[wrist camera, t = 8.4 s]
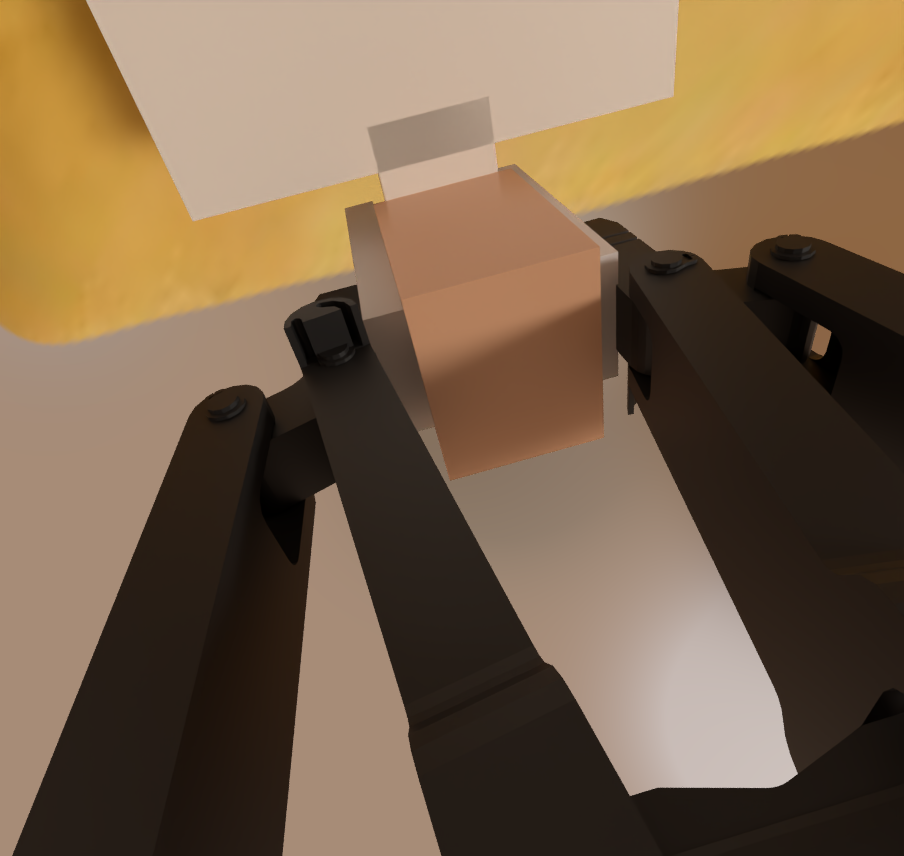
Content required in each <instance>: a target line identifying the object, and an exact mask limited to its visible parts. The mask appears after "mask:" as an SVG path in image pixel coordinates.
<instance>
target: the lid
mask: <svg viewBox="0 0 904 856" xmlns="http://www.w3.org/2000/svg"><path fill="white" fill-rule="evenodd" d="M86 1H87V4H88V6H89V8H90V10H91V12H92V14H93V16H94V18H95V20H96V22H97V24H98V26H99V28H100V30H101V32H102V35H103V37H104V39H105V41H106V43H107V45H108V47H109V49H110V51H111V53H112V55H113V57H114V59H115V61H116V63H117V66H118V68H119V70H120V72H121V74H122V76H123V78H124V80H125V82H126V84H127V86H128V88H129V90H130V92H131V94H132V97H133V99H134V101H135V103H136V105H137V107H138V109H139V111H140V113H141V115H142V117H143V119H144V121H145V123H146V125H147V128H148V130H149V132H150V134H151V136H152V138H153V140H154V142H155V144H156V146H157V148H158V150H159V152H160V154H161V156H162V159H163V161H164V163H165V165H166V167H167V169H168V171H169V173H170V175H171V177H172V179H173V181H174V183H175V185H176V187H177V189H178V192H179V194H180V196H181V198H182V200H183V202H184V204H185V206H186V208H187V210H188V212H189V214H190V216H191V218H192V220H193V221H196V220H200V219H204V218H207V217H211V216H215V215H219V214H223V213H227V212H231V211H234V210H238V209H242V208H246V207H250V206H254V205H257V204H261V203H265V202H269V201H273V200H277V199H281V198H284V197H288V196H292V195H296V194H300V193H304V192H308V191H311V190H315V189H319V188H323V187H327V186H331V185H335V184H338V183H342V182H346V181H350V180H354V179H358V178H361V177H365V176H369V175H373V174H377V173H378V176H379V180H380V183H381V187H382V191H383V195H384V199H385V201H384V202H380V203H376V204H373V206H374V210H375V213H376V217H377V221H378V224H379V228H380V232H381V235H382V239H383V242H384V245H385V249H386V252H387V256H388V259H389V263H390V266H391V269H392V273H393V276H394V280H395V283H396V287H397V290H398V293H399V297H400V300H401V304H402V307H403V311H404V314H405V318H406V322H407V325H408V329H409V333H410V336H411V340H412V344H413V347H414V351H415V355H416V358H417V362H418V366H419V369H420V373H421V377H422V381H423V384H424V388H425V392H426V395H427V399H428V403H429V406H430V410H431V414H432V417H433V421H434V425H435V429H436V433H437V436H438V440H439V443H440V447H441V450H442V454H443V457H444V461H445V464H446V468H447V471H448V475H449V478H450V480H454V479H458V478H461V477H465V476H469V475H472V474H476V473H479V472H482V471H486V470H490V469H493V468H497V467H501V466H504V465H508V464H511V463H515V462H518V461H522V460H525V459H529V458H532V457H536V456H539V455H543V454H547V453H550V452H554V451H558V450H561V449H564V448H568V447H572V446H575V445H579V444H582V443H585V442H589V441H593V440H597V439H600V438H603V437H604V425H603V424H604V423H603V372H602V324H601V275H600V246H599V245H597V244H596V243H595V242H594V241H593V240H592V239H591V238H589V237H588V236H587V235H586V234H585V233H584V232H583V231H582V230H580V229H579V228H578V227H577V226H576V225H575V224H574V223H572V222H571V221H570V220H569V219H568V218H567V217H566V216H565V215H563V214H562V213H561V212H560V211H559V210H558V209H557V208H555V207H554V206H553V205H552V204H551V203H550V202H549V201H548V200H546V199H545V198H544V197H543V196H542V195H541V194H540V193H538V192H537V191H536V190H535V189H534V188H533V187H532V186H531V185H529V184H528V183H527V182H526V181H525V180H524V179H523V178H521V177H520V176H519V175H518V174H517V173H516V172H515V171H514V170H512V169H511V168H510V169H506V170H503V171H499V172H498V166H497V158H496V151H495V143H496V142H500V141H504V140H508V139H512V138H516V137H519V136H523V135H527V134H531V133H535V132H539V131H542V130H546V129H550V128H554V127H558V126H562V125H566V124H569V123H573V122H577V121H581V120H585V119H589V118H593V117H596V116H600V115H604V114H608V113H612V112H616V111H620V110H623V109H627V108H631V107H635V106H639V105H643V104H646V103H650V102H654V101H658V100H662V99H666V98H670V97H673V95H674V77H675V59H676V41H677V23H678V5H679V0H86Z"/></svg>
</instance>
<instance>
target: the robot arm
mask: <svg viewBox="0 0 904 856" xmlns="http://www.w3.org/2000/svg"><path fill="white" fill-rule="evenodd" d="M510 168H511V169H512V170H514V171H515V172H516V173H517V174H518V175H519V176H520V177H521V178H523V179H524V180H525V181H526V182H527V183H528V184H529V185H531V186H532V187H533V188H534V189H535V190H536V191H537V192H538V193H540V194H541V195H542V196H543V197H544V198H545V199H546V200H548V201H549V202H550V203H551V204H552V205H553V206H554V207H555V208H557V209H558V210H559V211H560V212H561V213H562V214H563V215H565V216H566V217H567V218H568V219H569V220H570V221H571V222H572V223H574V224H575V225H576V226H577V227H578V228H579V229H580V230H582V231H583V232H584V233H585V234H586V235H587V236H588V237H589V238H591V239H592V240H593V241H594V242H595V243H596V244H597V245H599V246H600V275H601V324H602V372H603V380H605V379H608V378H611V377H616V376H618V352H619V353H620V354H621V355H622V356H623V358H624V359H625V360H626V361H627V362H628V394H627V409H628V415H629V414H634V405H635V404H636V402H637V404H638V406H639V408H640V410H641V412H642V414H643V416H644V418H645V420H646V422H647V425H648V427H649V429H650V431H651V433H652V435H653V437H654V439H655V441H656V443H657V445H658V447H659V450H660V451H661V454H662V456H663V458H664V460H665V462H666V464H667V466H668V468H669V470H670V472H671V474H672V476H673V479H674V480H675V483H676V485H677V487H678V489H679V491H680V493H681V495H682V497H683V499H684V501H685V503H686V505H687V508H688V510H689V512H690V514H691V516H692V517H693V520H694V522H695V524H696V526H697V528H698V530H699V532H700V534H701V536H702V539H703V541H704V543H705V545H706V547H707V549H708V551H709V553H710V555H711V557H712V559H713V561H714V563H715V565H716V568H717V570H718V572H719V574H720V576H721V578H722V580H723V582H724V584H725V586H726V588H727V590H728V592H729V595H730V597H731V598H732V600H733V603H734V605H735V607H736V609H737V611H738V613H739V615H740V617H741V619H742V622H743V623H744V625H745V628H746V630H747V632H748V634H749V636H750V638H751V640H752V642H753V644H754V646H755V648H756V651H757V653H758V655H759V657H760V659H761V661H762V663H763V665H764V667H765V669H766V671H767V673H768V675H769V677H770V679H771V682H772V684H773V686H774V688H775V691H776V693H777V695H778V698H779V702H780V705H781V708H782V715H783V723H784V730H785V737H786V741H787V744H788V748H789V751H790V755H791V757H792V760H793V762H794V765H795V767H796V770H797V772H798V774H797V775H796V776H795V777H793V778H792V779H791V780H789V781H788V782H786V783H785V784H783V785H780V786H778V787H773V788H655V789H652V790H649V791H645V792H642V793H639V794H636V795H632V796H629V794H628V792H627V790H626V788H625V787H624V785H623V783H622V781H621V779H620V778H619V776H618V774H617V772H616V771H615V769H614V767H613V765H612V763H611V762H610V760H609V758H608V756H607V755H606V753H605V751H604V749H603V747H602V746H601V744H600V742H599V740H598V738H597V737H596V735H595V733H594V731H593V730H592V728H591V726H590V724H589V723H588V721H587V719H586V717H585V715H584V714H583V712H582V710H581V708H580V706H579V705H578V703H577V701H576V699H575V698H574V696H573V694H572V693H571V691H570V689H569V688H568V686H567V685H566V683H565V681H564V680H563V678H562V677H561V675H560V674H559V673H558V672H557V671H556V669H555V668H554V667H553V666H552V665H550V664H547V663H545V662H544V661H543V659H542V658H541V657H540V656H539V654H538V652H537V650H536V649H535V647H534V645H533V644H532V642H531V640H530V638H529V636H528V634H527V632H526V631H525V629H524V627H523V625H522V624H521V621H520V620H519V618H518V616H517V614H516V612H515V610H514V609H513V607H512V605H511V603H510V601H509V599H508V597H507V596H506V594H505V592H504V590H503V588H502V587H501V585H500V583H499V581H498V579H497V577H496V575H495V574H494V572H493V570H492V568H491V566H490V564H489V562H488V561H487V559H486V557H485V555H484V553H483V551H482V550H481V548H480V546H479V544H478V542H477V540H476V538H475V537H474V535H473V533H472V531H471V529H470V527H469V526H468V524H467V522H466V520H465V518H464V516H463V514H462V513H461V511H460V509H459V507H458V505H457V504H456V502H455V500H454V498H453V496H452V494H451V492H450V491H449V489H448V487H447V485H446V483H445V481H444V479H443V478H442V476H441V474H440V472H439V470H438V469H437V466H436V465H435V463H434V461H433V459H432V457H431V456H430V454H429V452H428V450H427V448H426V446H425V444H424V443H423V441H422V439H421V437H420V435H419V434H418V431H421V430H424V429H428V428H432V427H435V425H434V421H433V417H432V414H431V410H430V406H429V403H428V399H427V395H426V392H425V388H424V384H423V381H422V377H421V373H420V369H419V366H418V362H417V358H416V355H415V351H414V347H413V344H412V340H411V336H410V333H409V329H408V325H407V322H406V318H405V314H404V311H403V307H402V304H401V300H400V297H399V293H398V290H397V287H396V283H395V280H394V276H393V273H392V269H391V266H390V263H389V259H388V256H387V252H386V249H385V245H384V242H383V239H382V235H381V232H380V228H379V224H378V221H377V217H376V213H375V210H374V206H373V201H371V202H367V203H364V204H360V205H356V206H352V207H348V208H345V213H346V219H347V225H348V231H349V238H350V244H351V250H352V257H353V263H354V269H355V275H356V282H357V285H353V286H350V287H346V288H342V289H338V290H334V291H331V292H327V293H323V294H320V295H319V296H318V298H317V299H316V300H315V302H312V303H310V304H308V305H306V306H303V307H301V308H300V309H298V310H297V311H295V312H294V313H292V314H291V315H290V316H289V317H288V319H287V320H286V321H285V324H284V330H285V333H286V335H287V337H288V339H289V342H290V344H291V347H292V349H293V351H294V353H295V356H296V358H297V360H298V363H299V365H300V367H301V370H302V373H303V377H302V378H301V379H300V380H299V381H297V382H296V383H295V384H293V385H292V386H290V387H288V388H287V389H285V390H283V391H281V392H279V393H277V394H274V395H272V396H270V397H268V398H265V396H264V394H263V392H262V391H261V390H260V389H259V388H258V387H256V386H251V385H240V386H232V387H229V388H227V389H221V390H218V391H216V392H215V393H214V394H213V393H212V394H211V395H209V396H207V397H206V398H205V399H204V400H203V401H202V402H201V403H200V404H198V405H197V406H196V407H195V408H194V410H193V411H192V413H191V414H190V416H189V418H188V420H187V423H186V425H185V427H184V430H183V432H182V435H181V437H180V440H179V442H178V445H177V447H176V450H175V452H174V455H173V457H172V460H171V462H170V465H169V467H168V470H167V472H166V475H165V477H164V480H163V482H162V485H161V487H160V490H159V492H158V495H157V497H156V500H155V502H154V505H153V507H152V510H151V512H150V515H149V517H148V519H147V522H146V524H145V527H144V530H143V532H142V534H141V537H140V540H139V542H138V544H137V547H136V549H135V552H134V554H133V557H132V559H131V562H130V564H129V567H128V569H127V572H126V574H125V577H124V579H123V582H122V584H121V587H120V589H119V592H118V594H117V597H116V599H115V602H114V604H113V607H112V609H111V611H110V614H109V616H108V619H107V622H106V624H105V626H104V629H103V631H102V634H101V636H100V639H99V641H98V644H97V646H96V649H95V651H94V654H93V656H92V659H91V661H90V664H89V666H88V669H87V671H86V674H85V676H84V679H83V681H82V684H81V686H80V689H79V691H78V694H77V696H76V698H75V701H74V704H73V706H72V709H71V711H70V714H69V716H68V719H67V721H66V723H65V726H64V728H63V731H62V733H61V736H60V738H59V741H58V743H57V746H56V748H55V751H54V753H53V756H52V758H51V761H50V764H49V766H48V768H47V771H46V774H45V776H44V778H43V781H42V783H41V786H40V788H39V791H38V793H37V795H36V798H35V800H34V803H33V806H32V808H31V810H30V813H29V815H28V818H27V820H26V823H25V825H24V828H23V830H22V833H21V835H20V838H19V840H18V843H17V845H16V848H15V850H14V853H13V855H12V856H282V852H283V842H284V832H285V821H286V810H287V800H288V790H289V778H290V769H291V757H292V747H293V736H294V726H295V716H296V705H297V694H298V684H299V674H300V663H301V652H302V642H303V631H304V620H305V610H306V599H307V588H308V578H309V567H310V556H311V546H312V535H313V526H314V515H315V504H316V502H315V496H314V494H315V493H317V492H319V491H321V490H323V489H325V488H326V487H328V486H330V485H332V484H334V483H336V484H337V487H338V491H339V494H340V497H341V501H342V504H343V507H344V511H345V514H346V517H347V521H348V524H349V527H350V530H351V533H352V537H353V540H354V543H355V547H356V550H357V553H358V556H359V560H360V563H361V566H362V569H363V573H364V576H365V579H366V583H367V586H368V589H369V592H370V596H371V599H372V602H373V606H374V609H375V612H376V615H377V618H378V622H379V625H380V628H381V632H382V635H383V638H384V641H385V645H386V648H387V651H388V654H389V658H390V661H391V664H392V668H393V671H394V674H395V677H396V681H397V684H398V687H399V690H400V694H401V697H402V700H403V704H404V707H405V710H406V714H407V718H408V722H409V733H408V737H409V742H410V748H411V752H412V756H413V760H414V763H415V767H416V771H417V774H418V778H419V782H420V785H421V788H422V792H423V795H424V798H425V802H426V805H427V809H428V812H429V815H430V819H431V822H432V825H433V829H434V832H435V836H436V839H437V842H438V846H439V849H440V852H441V856H904V274H903V273H901V272H898V271H896V270H893V269H891V268H889V267H886V266H884V265H882V264H879V263H876V262H874V261H872V260H869V259H867V258H865V257H862V256H860V255H857V254H855V253H852V252H850V251H848V250H845V249H843V248H841V247H838V246H835V245H833V244H831V243H828V242H826V241H823V240H820V239H816V238H812V237H804V236H801V235H797V234H796V235H789V236H787V235H781V236H778V237H776V238H771V239H766V240H764V241H761V242H759V243H757V244H756V245H754V247H753V248H752V249H751V250H750V256H749V263H748V267H743V268H733V269H724V270H712V269H711V267H710V266H709V265H708V264H707V263H706V262H705V261H704V260H703V259H702V258H700V257H699V256H697V255H695V254H693V253H691V252H685V251H675V250H666V251H658V252H656V251H655V250H653V249H652V248H651V247H649V246H648V245H647V244H645V243H644V242H643V241H641V240H640V239H637V237H636V236H635V235H633V234H632V233H631V232H628V230H627V229H626V228H624V227H623V226H622V225H620V224H619V223H617V222H614V221H610V220H606V219H603V218H597V219H594V220H590V221H586V222H583V221H581V220H580V219H579V218H578V217H577V216H576V215H574V214H573V213H572V212H571V211H570V210H568V209H567V208H566V207H565V206H564V205H563V204H561V203H560V202H559V201H558V200H557V199H555V198H554V197H553V196H552V195H551V194H550V193H548V192H547V191H546V190H545V189H544V188H543V187H541V186H540V185H539V184H538V183H537V182H535V181H534V180H533V179H532V178H531V177H530V176H528V175H527V174H526V173H525V172H524V171H522V170H521V169H520V168H519V167H518V166H517V165H515V164H513V165H509V166H505V167H501V168H498V172H499V171H503V170H506V169H510ZM818 324H819V325H821V326H823V327H825V328H826V329H828V330H830V331H831V332H832V333H831V337H830V340H829V344H828V347H827V351H826V353H825V355H824V356H822V355H819V354H817V353H815V352H814V351H812V350H811V348H812V344H813V340H814V336H815V332H816V329H817V325H818Z"/></svg>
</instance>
